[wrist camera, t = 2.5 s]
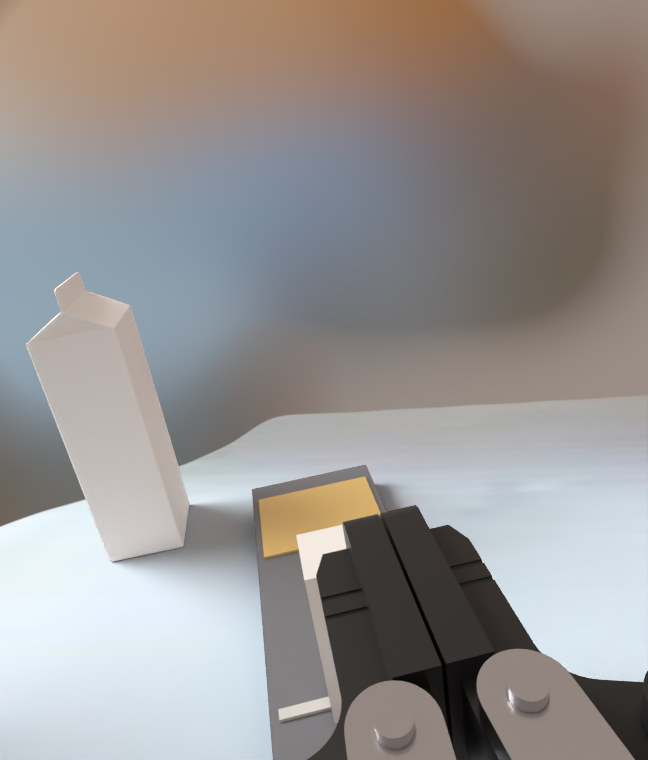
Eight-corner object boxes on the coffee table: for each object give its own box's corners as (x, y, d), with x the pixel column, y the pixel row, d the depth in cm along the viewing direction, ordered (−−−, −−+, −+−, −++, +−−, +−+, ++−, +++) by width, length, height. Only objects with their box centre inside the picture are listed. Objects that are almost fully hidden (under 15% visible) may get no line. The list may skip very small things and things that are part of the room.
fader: (334, 723, 27) (304, 580, 23) (324, 671, 30) (296, 535, 26) (405, 705, 28) (387, 561, 24) (389, 654, 30) (370, 518, 27)
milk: (190, 504, 51) (121, 263, 42) (184, 548, 45) (102, 281, 36) (122, 518, 50) (38, 277, 41) (107, 564, 45) (7, 297, 36)
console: (286, 854, 25) (277, 826, 24) (256, 508, 48) (251, 487, 48) (500, 795, 26) (499, 765, 25) (368, 483, 49) (365, 462, 48)
